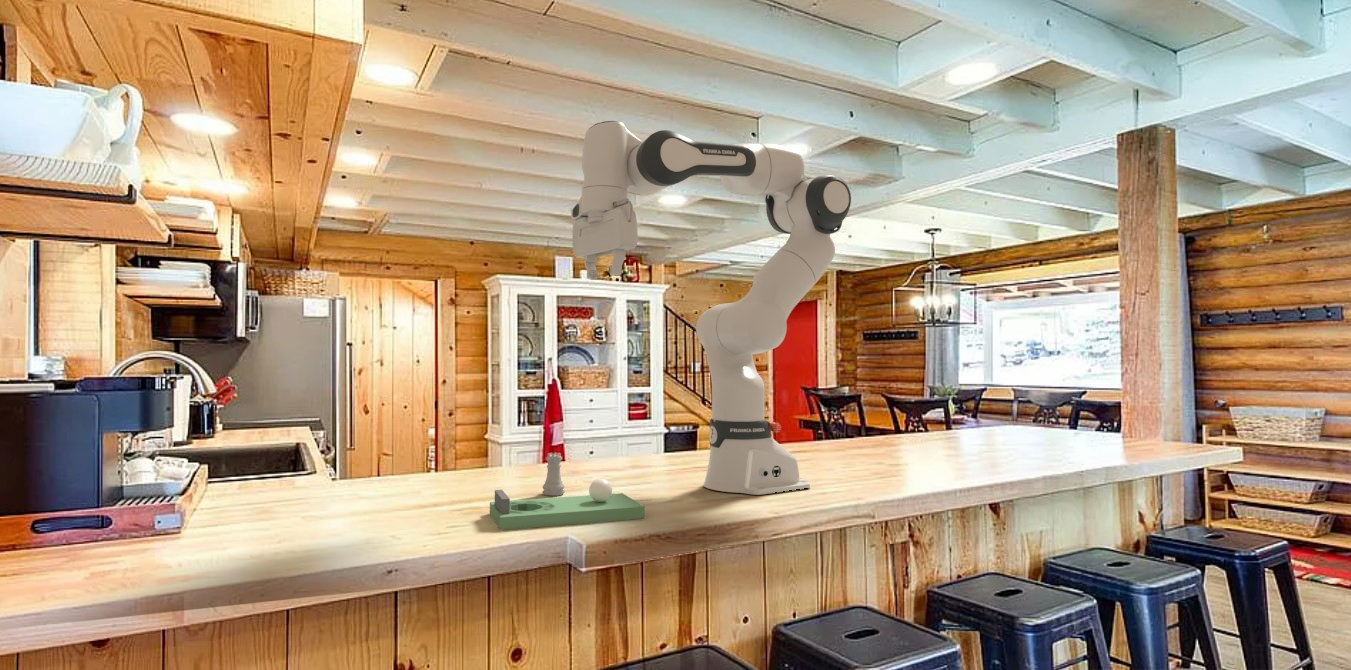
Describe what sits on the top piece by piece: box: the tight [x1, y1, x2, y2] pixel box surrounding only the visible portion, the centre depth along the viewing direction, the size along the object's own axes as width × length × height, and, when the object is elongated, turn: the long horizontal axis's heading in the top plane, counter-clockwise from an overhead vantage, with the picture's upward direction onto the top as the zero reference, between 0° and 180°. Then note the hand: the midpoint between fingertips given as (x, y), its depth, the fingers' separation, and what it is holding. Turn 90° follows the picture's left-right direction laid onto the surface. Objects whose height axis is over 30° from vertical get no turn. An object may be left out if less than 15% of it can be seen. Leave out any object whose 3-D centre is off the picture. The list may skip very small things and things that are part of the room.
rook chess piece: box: [541, 452, 566, 497], centre depth 140 cm, size 4×4×8 cm
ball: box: [588, 478, 613, 502], centre depth 124 cm, size 4×4×4 cm
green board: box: [489, 489, 645, 531], centre depth 122 cm, size 24×12×4 cm, turn 112°
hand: (603, 277), depth 138 cm, fingers open, 8 cm apart
